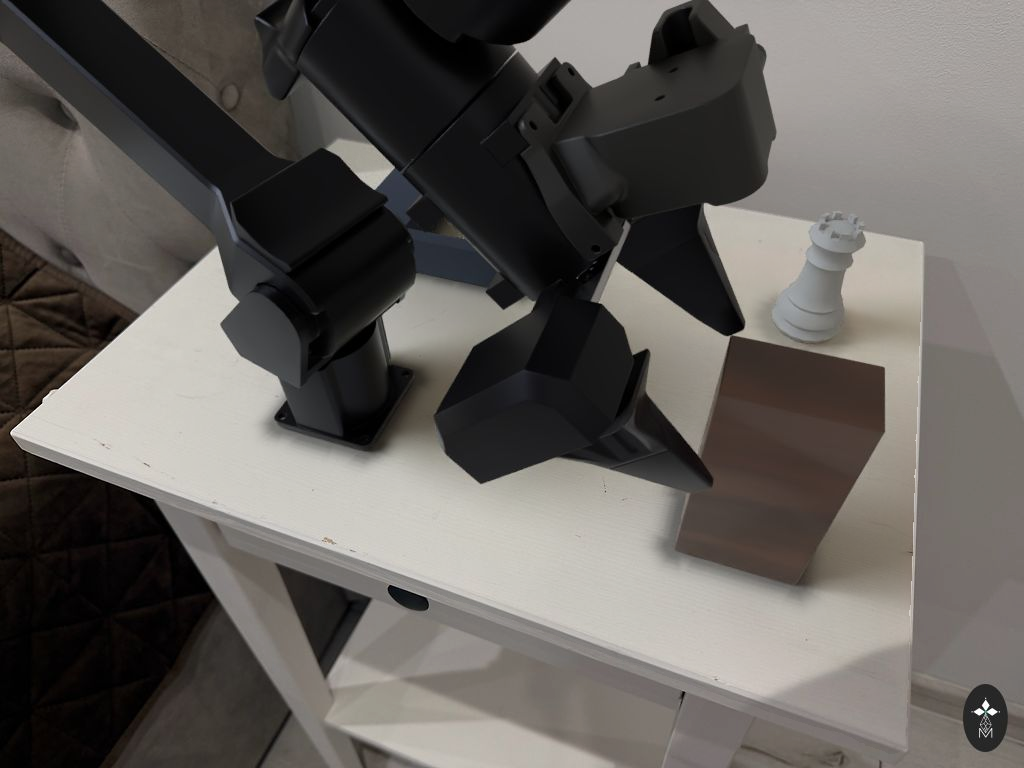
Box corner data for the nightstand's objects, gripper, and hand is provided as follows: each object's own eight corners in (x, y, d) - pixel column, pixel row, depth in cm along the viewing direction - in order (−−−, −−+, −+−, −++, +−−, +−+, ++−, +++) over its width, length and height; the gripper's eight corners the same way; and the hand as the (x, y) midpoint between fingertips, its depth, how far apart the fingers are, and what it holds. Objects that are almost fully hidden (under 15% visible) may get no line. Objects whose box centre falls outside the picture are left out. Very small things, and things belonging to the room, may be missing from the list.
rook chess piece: (853, 333, 46) (900, 231, 40) (800, 355, 45) (840, 253, 39) (806, 294, 49) (843, 194, 43) (755, 314, 47) (786, 213, 42)
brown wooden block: (796, 586, 34) (886, 431, 25) (673, 550, 35) (718, 393, 27) (801, 527, 36) (885, 366, 27) (685, 496, 38) (730, 334, 29)
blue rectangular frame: (523, 295, 50) (522, 261, 47) (350, 258, 53) (342, 225, 51) (563, 218, 56) (564, 185, 54) (407, 190, 59) (402, 158, 57)
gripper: (518, 81, 12) (936, 566, 18) (698, -142, 24) (916, 189, 29) (270, 319, 20) (611, 607, 25) (498, 63, 32) (699, 295, 37)
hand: (721, 401), depth 29 cm, fingers open, 9 cm apart
